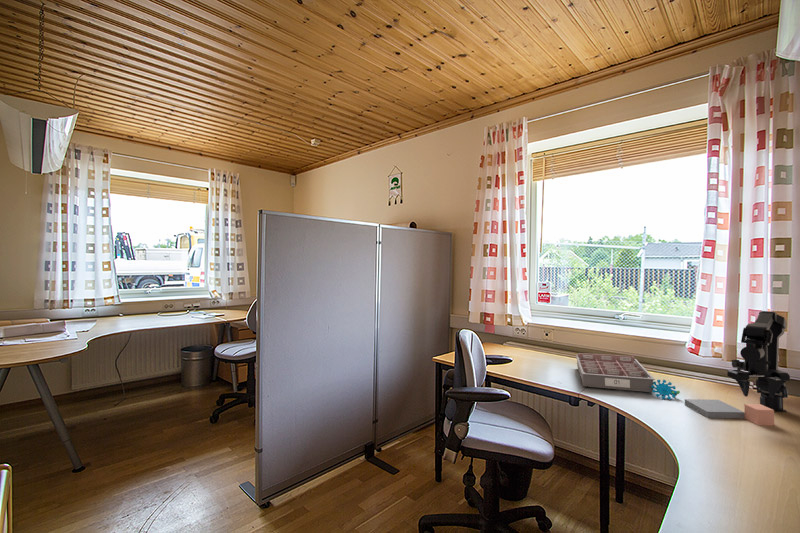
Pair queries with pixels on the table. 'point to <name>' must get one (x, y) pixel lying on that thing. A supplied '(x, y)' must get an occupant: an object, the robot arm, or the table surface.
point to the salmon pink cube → (759, 414)
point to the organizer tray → (613, 372)
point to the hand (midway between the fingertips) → (758, 396)
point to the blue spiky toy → (664, 389)
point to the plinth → (714, 408)
